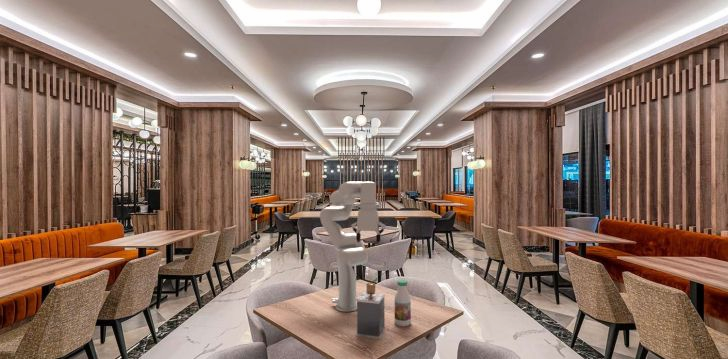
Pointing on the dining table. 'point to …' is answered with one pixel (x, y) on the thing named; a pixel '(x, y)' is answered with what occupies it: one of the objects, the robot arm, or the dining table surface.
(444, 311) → the dining table surface
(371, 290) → the plunger
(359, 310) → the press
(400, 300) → the milk bottle
